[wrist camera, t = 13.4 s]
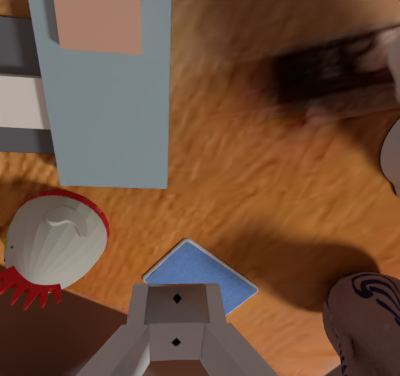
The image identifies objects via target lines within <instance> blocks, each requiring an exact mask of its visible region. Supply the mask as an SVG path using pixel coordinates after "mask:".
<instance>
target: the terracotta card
mask: <svg viewBox="0 0 400 376" xmlns="http://www.w3.org/2000/svg"><path fill="white" fill-rule="evenodd" d="M54 6H55V13H56V20H57V28H58V35H59V42H60V49H70V50H83V51H96V52H109V53H122V54H134V55H142V13H141V0H54Z"/></svg>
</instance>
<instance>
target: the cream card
mask: <svg viewBox="0 0 400 376" xmlns="http://www.w3.org/2000/svg"><path fill="white" fill-rule="evenodd" d="M0 127H12V128H31V129H50V130H51V128H50V123H49V117H48V111H47V105H46V99H45V94H44V88H43V82H42V76H31V75H17V74H3V73H0Z"/></svg>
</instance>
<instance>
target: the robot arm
mask: <svg viewBox="0 0 400 376" xmlns="http://www.w3.org/2000/svg"><path fill="white" fill-rule="evenodd" d="M380 159H381V168H382V171H383V173H384V175H385V176H386V177H387V179H388V180H390V181H391V182H392V183H393V184H394V186H395V190H396V194H397V196H398V197H399V198H400V119H399V120H398V121H397V122H396V123H395V124H394V126H393V127H392V128H391V130H390V132H389V133H388V135H387V137H386V139H385V141H384V144H383V147H382V151H381V158H380ZM175 359H176V360H201V363H202V364H203V366H204V368H205V369H206V371H207V372H208V374H209V376H278V374H277V373H276V372H275V371H274V370H273V369H272V368H271V367H270V366H269V365H268V363H267V362H266V361H265V360H264V359H263V358H262V357H261V356H260V355H259V354H258V352H257V351H256V350H255V349H254V348H253V347H252V346H251V345H250V344H249V343H248V341H247V340H246V339H245V338H244V337H243V336H242V335H241V334H240V333H239V332H238V330H237V329H236V328H235V327H234V326H233V325H232V324H231V323H226V317H225V312H224V306H223V301H222V295H221V290H220V285H219V284H218V283H205V284H204V283H190V284H154V283H149V284H143V283H135V284H134V286H133V290H132V296H131V301H130V307H129V313H128V318H127V324H126V325H121V326H120V328H119V329H118V330H117V331H116V332H115V333H114V334H113V335H112V336H111V337H110V339H109V340H108V341H107V342H106V343H105V344H104V345H103V346H102V347H101V349H100V350H99V351H98V352H97V353H96V354H95V355H94V356H93V357H92V358H91V360H90V361H89V362H88V363H87V364H86V365H85V366H84V367H83V369H82V370H81V371H80V372H79V373H78V374H77V375H76V376H142V375H143V373H144V371H145V370H146V368H147V366H148V365H149V362H150V361H161V360H175Z"/></svg>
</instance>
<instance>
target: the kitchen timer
mask: <svg viewBox="0 0 400 376" xmlns="http://www.w3.org/2000/svg"><path fill="white" fill-rule="evenodd" d="M109 234H110V233H109V224H108V221H107V219H106V217H105V215H104V213H103V212H102V211H101V210H100V209H99V208H98V206H97V205H96V204H94V203H93V202H91V201H90V200H88V199H87V198H85V197H84V196H81V195H78V194H76V193H73V192H69V191H61V190H52V191H44V192H41V193H39V194H36V195H34V196H32V197H31V198H30V199H28V200H27V201H26V202H25V203H24V204H23V205H22V206H21V207H20V208H19V209H18V211H17V212H16V214H15V216H14V218H13V220H12V222H11V224H10V226H9V229H8V232H7V235H6V238H4V239H2V242H3V244H4V262H5V266H6V269H5V270H3V271H1V272H0V282H2V284H1V286H0V295H1V294H2V293H3V292H5V291H6V290H7V289H9V288H11V287H13V288H14V289H15V291H14V294H13V297H12V300H11V304H10V306H11V305H13V304H14V302H15V301H16V300H17V299H18V298H19V297H20V296H21V294H23V293H24V292H26V293H27V297H26V301H25V304H24V309H23V310H24V311H25V310H26V309H27V307H28V306H29V305H30V303H31V302H32V301H33V300H34V299H35V298H36V297H37V296H38V297H39V299H40V305H41V307H42V308H43V306H44V305H45V304H46V302H47V298H48V293H49V292H52V293H53V294H54V296H55V299H56V303H57V304H58V303H59V301H60V300H61V297H62V296H61V295H62V292H61V289H63V288H65V287H68V286H69V285H71V284H73V283H74V282H76V281H77V280H78V279H80V278H81V277H83V276H84V275H85V274H86V273H87V272H88V271H89V270H90V269H91V268H92V266H93V265H94V264H95V263H96V262H97V260H98V259H99V257H100V256H101V255H102V253H103V252H104V250H105V247H106V244H107V241H108V237H109Z"/></svg>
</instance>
